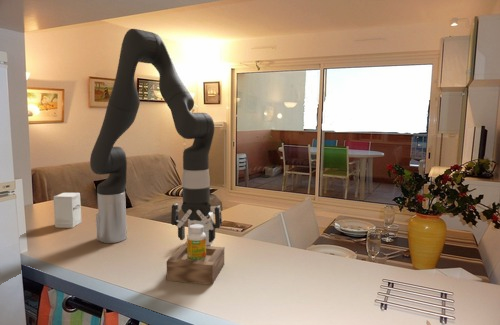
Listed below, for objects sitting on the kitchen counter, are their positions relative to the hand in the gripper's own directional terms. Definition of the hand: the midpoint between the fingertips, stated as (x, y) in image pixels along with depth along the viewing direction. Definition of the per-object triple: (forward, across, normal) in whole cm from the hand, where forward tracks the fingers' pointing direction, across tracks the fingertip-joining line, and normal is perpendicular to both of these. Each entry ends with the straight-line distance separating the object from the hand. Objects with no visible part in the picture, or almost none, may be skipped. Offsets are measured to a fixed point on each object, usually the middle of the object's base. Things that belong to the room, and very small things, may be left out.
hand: (196, 240), depth 103 cm
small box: (+10, -6, +23) cm, 26 cm away
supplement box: (+10, -64, +31) cm, 72 cm away
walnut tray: (+10, 0, 0) cm, 10 cm away
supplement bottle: (+6, 0, 0) cm, 6 cm away
